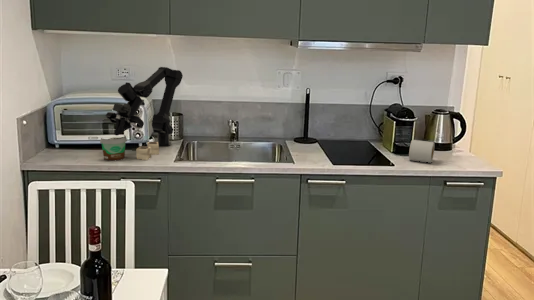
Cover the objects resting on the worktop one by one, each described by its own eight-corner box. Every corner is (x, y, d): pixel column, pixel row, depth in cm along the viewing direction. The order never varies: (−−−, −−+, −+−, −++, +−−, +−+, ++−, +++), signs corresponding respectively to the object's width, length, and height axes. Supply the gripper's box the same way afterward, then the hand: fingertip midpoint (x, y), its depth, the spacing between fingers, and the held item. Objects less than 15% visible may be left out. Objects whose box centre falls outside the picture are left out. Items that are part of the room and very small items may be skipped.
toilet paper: (432, 160, 253) (435, 140, 251) (429, 165, 244) (432, 144, 242) (411, 157, 257) (413, 137, 255) (408, 162, 248) (410, 141, 246)
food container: (106, 162, 231) (105, 140, 229) (100, 159, 236) (99, 138, 233) (132, 158, 239) (131, 137, 236) (126, 155, 243) (125, 134, 241)
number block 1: (141, 156, 243) (140, 145, 242) (151, 157, 242) (151, 146, 241) (136, 159, 238) (136, 148, 237) (147, 160, 237) (146, 149, 236)
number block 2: (147, 152, 251) (147, 141, 250) (158, 151, 252) (158, 141, 251) (148, 155, 246) (147, 144, 245) (158, 154, 247) (158, 143, 246)
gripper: (107, 94, 239) (90, 122, 232) (138, 98, 231) (121, 127, 224) (120, 109, 248) (104, 136, 241) (151, 113, 239) (135, 141, 233)
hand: (115, 134), depth 234 cm, fingers closed
